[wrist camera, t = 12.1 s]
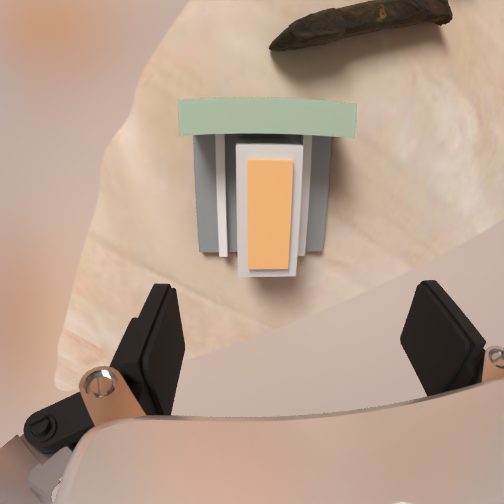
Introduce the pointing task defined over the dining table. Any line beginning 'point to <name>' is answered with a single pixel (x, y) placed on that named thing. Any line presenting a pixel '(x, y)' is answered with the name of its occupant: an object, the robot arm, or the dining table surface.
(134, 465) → the robot arm
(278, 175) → the holder
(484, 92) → the dining table surface
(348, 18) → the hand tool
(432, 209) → the dining table surface
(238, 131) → the chute mount
